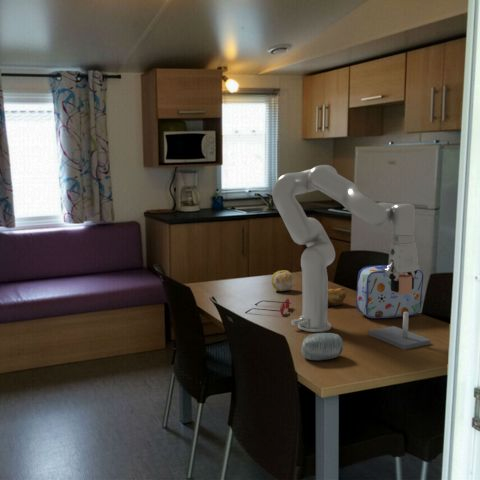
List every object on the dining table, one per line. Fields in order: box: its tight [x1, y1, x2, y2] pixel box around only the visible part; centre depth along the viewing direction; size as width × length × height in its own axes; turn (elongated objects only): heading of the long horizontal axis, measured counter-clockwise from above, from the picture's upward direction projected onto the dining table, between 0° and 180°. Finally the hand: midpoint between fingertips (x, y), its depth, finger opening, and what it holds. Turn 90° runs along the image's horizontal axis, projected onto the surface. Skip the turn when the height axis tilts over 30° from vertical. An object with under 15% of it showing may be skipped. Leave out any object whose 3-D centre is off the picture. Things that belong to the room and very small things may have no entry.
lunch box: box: [355, 264, 424, 319], centre depth 232 cm, size 28×10×22 cm, turn 106°
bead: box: [393, 274, 412, 295], centre depth 201 cm, size 6×6×6 cm
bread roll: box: [328, 287, 347, 307], centre depth 250 cm, size 13×10×8 cm
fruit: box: [271, 269, 295, 292], centre depth 274 cm, size 10×11×10 cm
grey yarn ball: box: [301, 332, 344, 361], centre depth 186 cm, size 14×10×10 cm
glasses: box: [244, 298, 292, 315], centre depth 242 cm, size 14×16×5 cm
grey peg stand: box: [368, 312, 431, 350], centre depth 203 cm, size 12×18×11 cm, turn 28°
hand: (402, 289), depth 201 cm, fingers closed on bead, 6 cm apart
